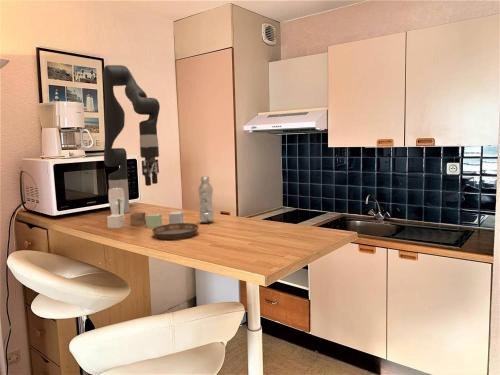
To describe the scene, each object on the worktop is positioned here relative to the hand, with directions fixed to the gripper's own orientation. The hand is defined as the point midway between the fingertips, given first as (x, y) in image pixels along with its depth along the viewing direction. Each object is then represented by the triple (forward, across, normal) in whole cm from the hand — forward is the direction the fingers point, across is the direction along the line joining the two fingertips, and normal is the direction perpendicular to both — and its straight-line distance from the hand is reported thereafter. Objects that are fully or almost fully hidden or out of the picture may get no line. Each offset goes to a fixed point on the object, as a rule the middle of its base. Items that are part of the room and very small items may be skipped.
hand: (151, 184), depth 167 cm
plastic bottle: (+18, -6, +21) cm, 29 cm away
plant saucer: (+19, +16, +14) cm, 28 cm away
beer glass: (+18, -13, -22) cm, 31 cm away
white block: (+18, 0, -17) cm, 25 cm away
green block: (+18, 0, 0) cm, 18 cm away
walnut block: (+18, -4, -9) cm, 20 cm away
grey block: (+18, -4, +8) cm, 20 cm away
